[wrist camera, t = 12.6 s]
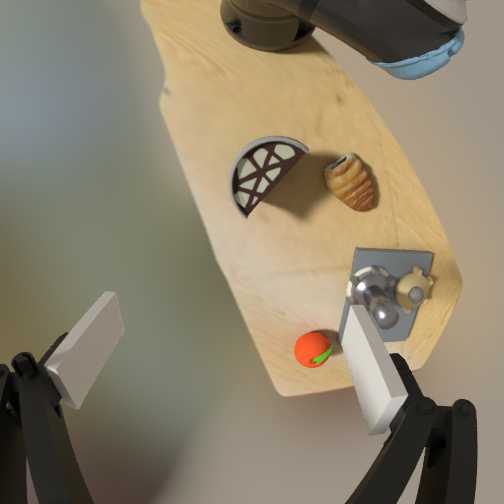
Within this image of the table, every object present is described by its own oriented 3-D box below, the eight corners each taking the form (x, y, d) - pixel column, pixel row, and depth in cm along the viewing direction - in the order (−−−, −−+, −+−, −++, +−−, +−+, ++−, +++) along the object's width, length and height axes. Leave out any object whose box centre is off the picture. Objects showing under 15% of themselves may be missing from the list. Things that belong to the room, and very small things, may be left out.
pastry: (380, 194, 43) (389, 199, 40) (349, 218, 45) (356, 225, 41) (349, 148, 41) (356, 149, 37) (316, 173, 43) (321, 176, 39)
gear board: (351, 247, 46) (359, 258, 42) (431, 251, 46) (445, 261, 41) (332, 340, 54) (337, 356, 49) (405, 336, 54) (414, 350, 49)
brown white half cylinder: (270, 120, 40) (272, 114, 30) (300, 147, 41) (311, 148, 32) (217, 180, 43) (205, 191, 34) (247, 205, 45) (244, 222, 35)
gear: (351, 265, 46) (371, 294, 36) (394, 265, 46) (419, 293, 36) (343, 310, 49) (357, 344, 40) (383, 309, 49) (403, 341, 40)
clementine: (320, 316, 52) (327, 339, 45) (337, 337, 54) (345, 360, 47) (285, 337, 54) (288, 361, 47) (304, 356, 56) (308, 380, 49)
